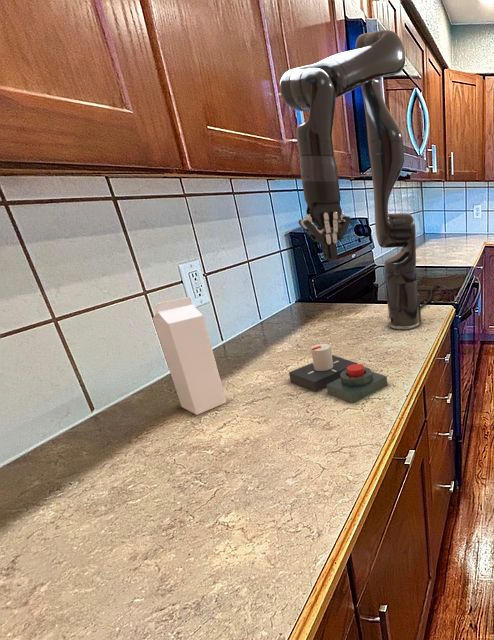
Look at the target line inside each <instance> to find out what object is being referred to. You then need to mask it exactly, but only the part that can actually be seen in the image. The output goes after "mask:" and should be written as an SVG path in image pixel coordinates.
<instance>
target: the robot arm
mask: <svg viewBox="0 0 494 640" xmlns="http://www.w3.org/2000/svg"><path fill="white" fill-rule="evenodd" d="M405 65H406V50H405V47H404V44H403V41H402V40H401V37H400V36H399V35H398V34H397V33H396V32H394V31H393V30H390V29H382V30H376V31H371V32H366V33H361V34H360V35H358V36H357V38H356V41H355V49H352V50H347V51H344V52H340V53H339V52H338V53H336V54H333V55H331V56H329V57H326V58H324V59H322V60H320V61H318V62H316V63H313V64H308V65H303V66H300V67H296V68H292V69H289V70H287V71H286V72H284V74H283V75H282V77H281V78H280V81H279V93H280V96H281V98H282V100H283V101H284V103H285V104H286V105H287V106H288V107H289V108H291V109H292V110H295V111H299V112H309V114H308V119H307V120H306V121H305V122H303V123H301V124H299V125H298V126H297V127H296V130H295V137H296V143H297V150H298V155H299V173H300V178H301V184H302V190H303V197H304V201H305V203H306V210H305V211H306V212H305V213H306V215H305V216H304V218H302V219H299V220H298V225H299V226H300V227H301V228H302V229H303V230H304V232H305V233H306V234H307V235H308V236H309V237H310V238H311V240H312V241H313V242H316V243H320V245H321V247H322V256H323V258H324V259H325V261H328V262H333V261H337V258H338V248H337V244H338V242H339V241H340V240H341V241H342V240H344V237H345V235H346V232H347V230H348V228H349V226H350V223H351V222H352V221H351V220H352V218H351V216H348V215H346V214H344V213H343V210H342V207H341V205H340V202H341V200H342V199H341V198H342V197H341V190H340V182H339V174H338V167H337V163H336V158H335V151H334V143H333V127H334V121H335V120H334V118H335V111H336V101H337V99H339V98H341V97H343V96H345V95H347V94H348V93H350V92H352V91H354V90H355V89H358V88H359V87H360V88H361V93H362V94H361V95H362V99H363V106H364V114H365V124H366V134H367V146H368V155H369V163H370V172H371V178H372V190H373V201H374V202H373V205H374V206H373V207H374V208H373V209H374V225H375V226H374V227H375V229H374V230H375V236H376V239H377V240H376V241H377V243H378V246H380V248H383V249H388V248H389V249H390V248H401V249H400V251H399V252H398V253H397V254H395V255H394V256H392V257H390V258H387V259H386V260H385V261H384V262H383V266H384V278H385V288H386V300H387V301H386V302H387V314H388V315H387V316H386V317H387V321H388V326H389V328H391V329H394V330H411V329H416V328H417V327H419V326H420V324H421V323H422V314H421V309H422V308H423V307H425V306H426V305H427V304H428V303H429V302H430V301H431V300H432V299H433V291H434V290H435V289H436V288H440V285H439V284H435V285H433V287H432V288H431V289H430V290H429V292H430V294H429V297H428V299H427V300H426V301H424V302H423V303H422V304H421V296H420V293H419V292H418V283H417V282H418V279H417V250H416V249H417V247H416V243H417V242H416V241H417V238H416V237H417V234H416V223H415V220H414V217H413V216H412V214H410V213H407V212H404V213H401V212H400V213H388V212H389V201H390V197H391V193H392V191H393V189H394V187H395V184H396V183H397V182H398V181H397V180H398V178H399V177H400V175H401V173H402V172H403V171H402V170H403V168H404V164H405V148H404V147H405V146H404V138H403V134H402V133H403V132H402V131H401V129H400V127H399V124H398V123H397V121H396V120H395V117H393V115H392V113H391V111H390V110H389V108H388V107H387V105H386V102H385V100H384V96H383V91H382V85H381V78H386V77H387V78H388V77H393V76H396V75H398V74H400V73H401V72H402V71H403V69H404V67H405Z"/></svg>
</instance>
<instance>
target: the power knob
mask: <svg viewBox="0 0 494 640" xmlns="http://www.w3.org/2000/svg"><path fill="white" fill-rule="evenodd" d="M331 347H332V346H331V345H330V344H328V343H319V344H315V345H312V346H310V352H311V359H312V363H313V365H314V369H315V370H316V371H326V370H329V369H331V368H333V360H332V355H333V353H332V348H331Z"/></svg>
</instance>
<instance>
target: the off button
mask: <svg viewBox="0 0 494 640" xmlns="http://www.w3.org/2000/svg"><path fill="white" fill-rule="evenodd" d="M364 367H365V365H363V364H362V363H357V364H352V365H349V366H348V367H347V374H348V376H349V377H359V376H362V375H365V370H364Z"/></svg>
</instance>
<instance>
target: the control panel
mask: <svg viewBox="0 0 494 640" xmlns="http://www.w3.org/2000/svg"><path fill="white" fill-rule="evenodd" d="M332 360H333V368H331V369H329V370H326V371H316V370H315V369H314V365H313V362H311V363H309V364H306V365H304V366H301V367H299V368H295V369H293V370H291V371H288V375H289V380H290V383H291V384H294V385H297V386H300V387H302V388H304V389H308V390H309V391H312V392H315V393H317V392H320V391H322V390H324V389H327V386H326V384H329V383H331V382H333V381H335V380H337V379H339V378H340V374H341V373H342V371H344V370H346V369H347V367H348V366H349V365H352V364H358V362H356V361H352V360H349V359H346V358H343V357H339V356H336V355H334V354H332Z"/></svg>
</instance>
